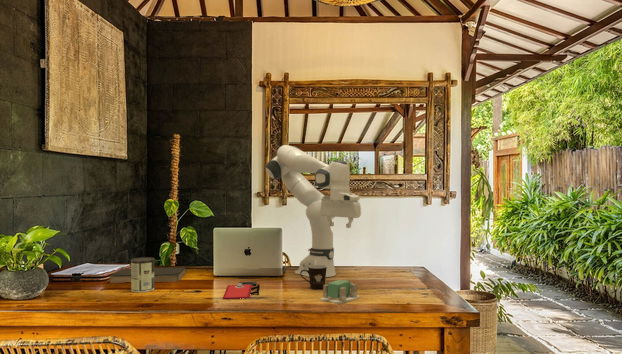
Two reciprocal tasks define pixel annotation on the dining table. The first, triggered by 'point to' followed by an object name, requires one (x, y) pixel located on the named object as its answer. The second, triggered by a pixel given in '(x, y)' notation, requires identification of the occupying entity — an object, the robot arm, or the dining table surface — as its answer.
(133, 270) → the coffee can
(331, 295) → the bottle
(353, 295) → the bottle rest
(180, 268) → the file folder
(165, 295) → the dining table surface
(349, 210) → the robot arm
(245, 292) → the red board with handle
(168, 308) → the dining table surface
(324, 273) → the coffee mug
